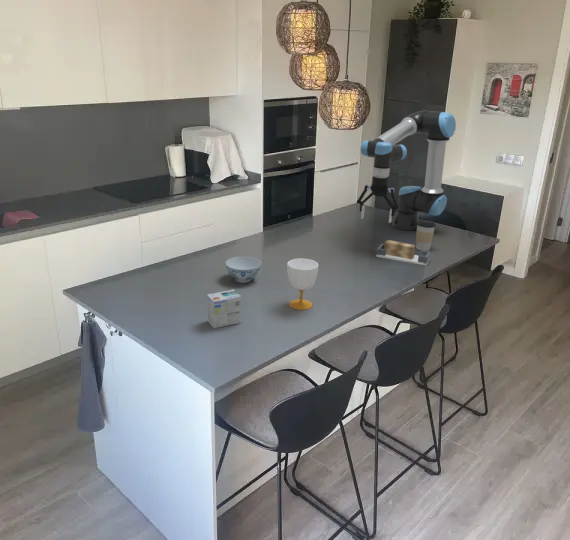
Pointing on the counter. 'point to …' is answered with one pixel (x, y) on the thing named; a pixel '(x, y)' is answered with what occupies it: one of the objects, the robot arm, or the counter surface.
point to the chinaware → (243, 268)
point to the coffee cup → (424, 234)
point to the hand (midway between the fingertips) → (376, 220)
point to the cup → (301, 279)
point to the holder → (420, 259)
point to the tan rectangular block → (399, 249)
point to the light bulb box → (224, 308)
